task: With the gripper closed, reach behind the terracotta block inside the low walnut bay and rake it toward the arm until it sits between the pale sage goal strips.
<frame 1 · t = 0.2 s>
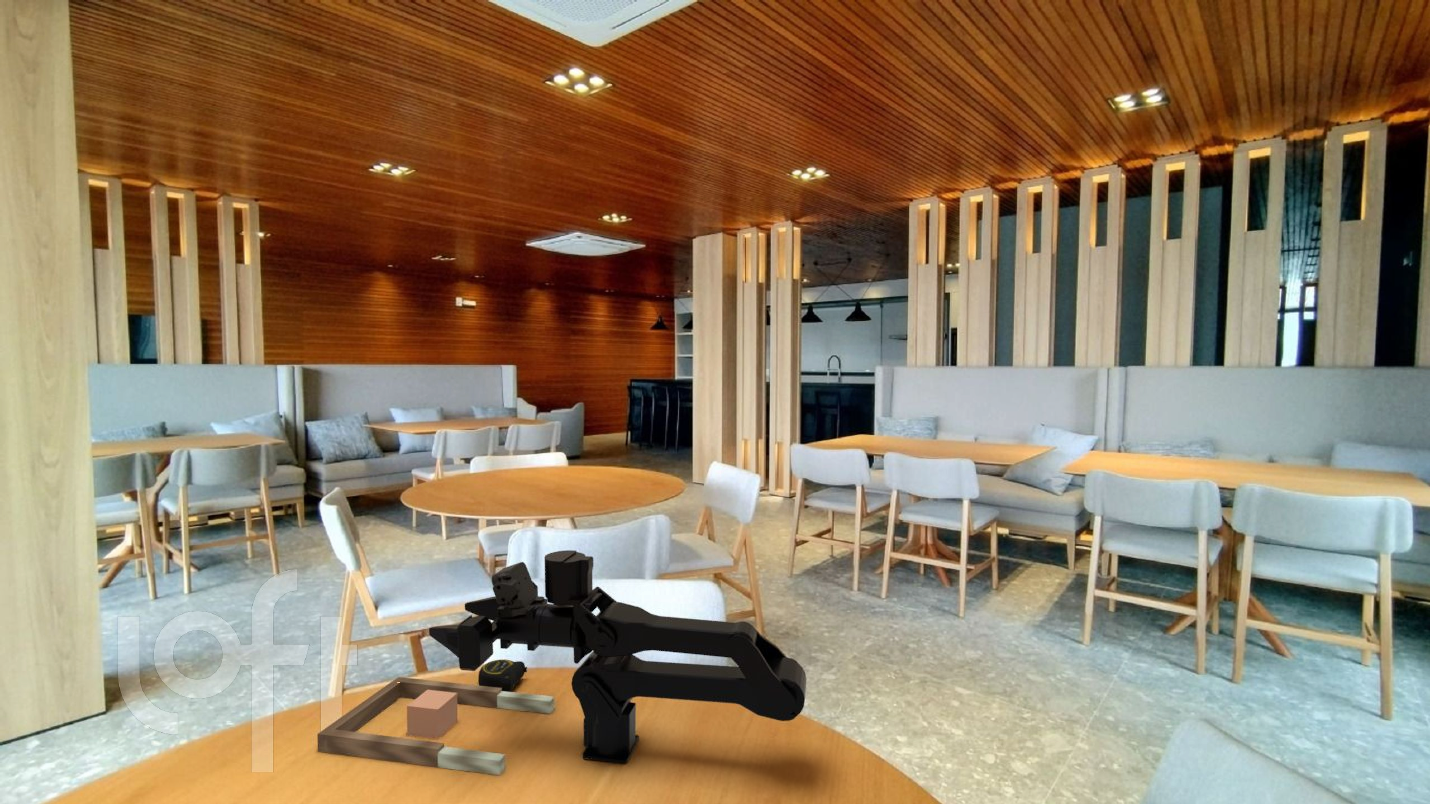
hand: (448, 618, 98), 17 cm above the table, fingers open, 9 cm apart
bay: (420, 726, 99), on the table
tape measure: (504, 688, 112), on the table
block: (432, 728, 99), on the table
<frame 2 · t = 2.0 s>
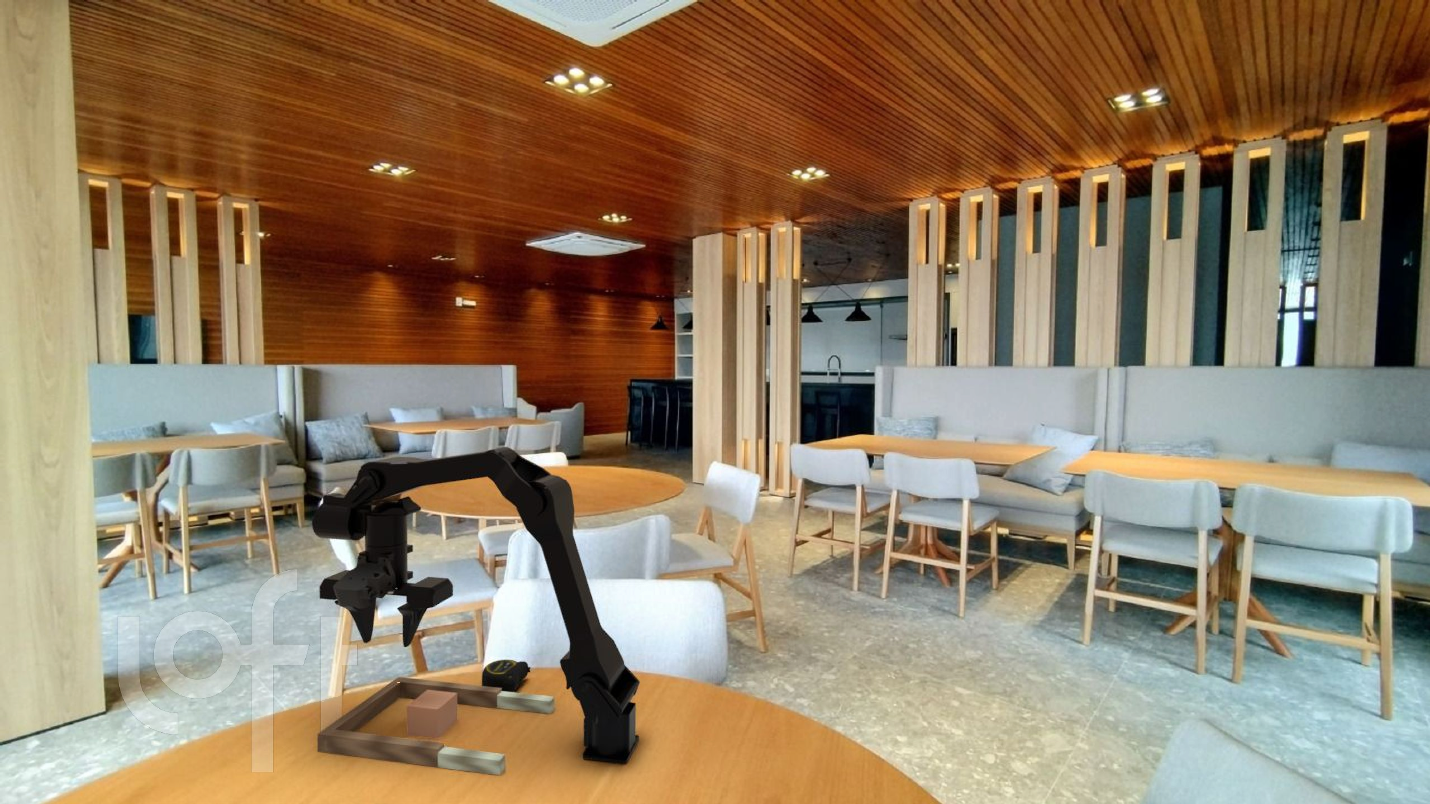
hand: (387, 644, 100), 12 cm above the table, fingers open, 6 cm apart
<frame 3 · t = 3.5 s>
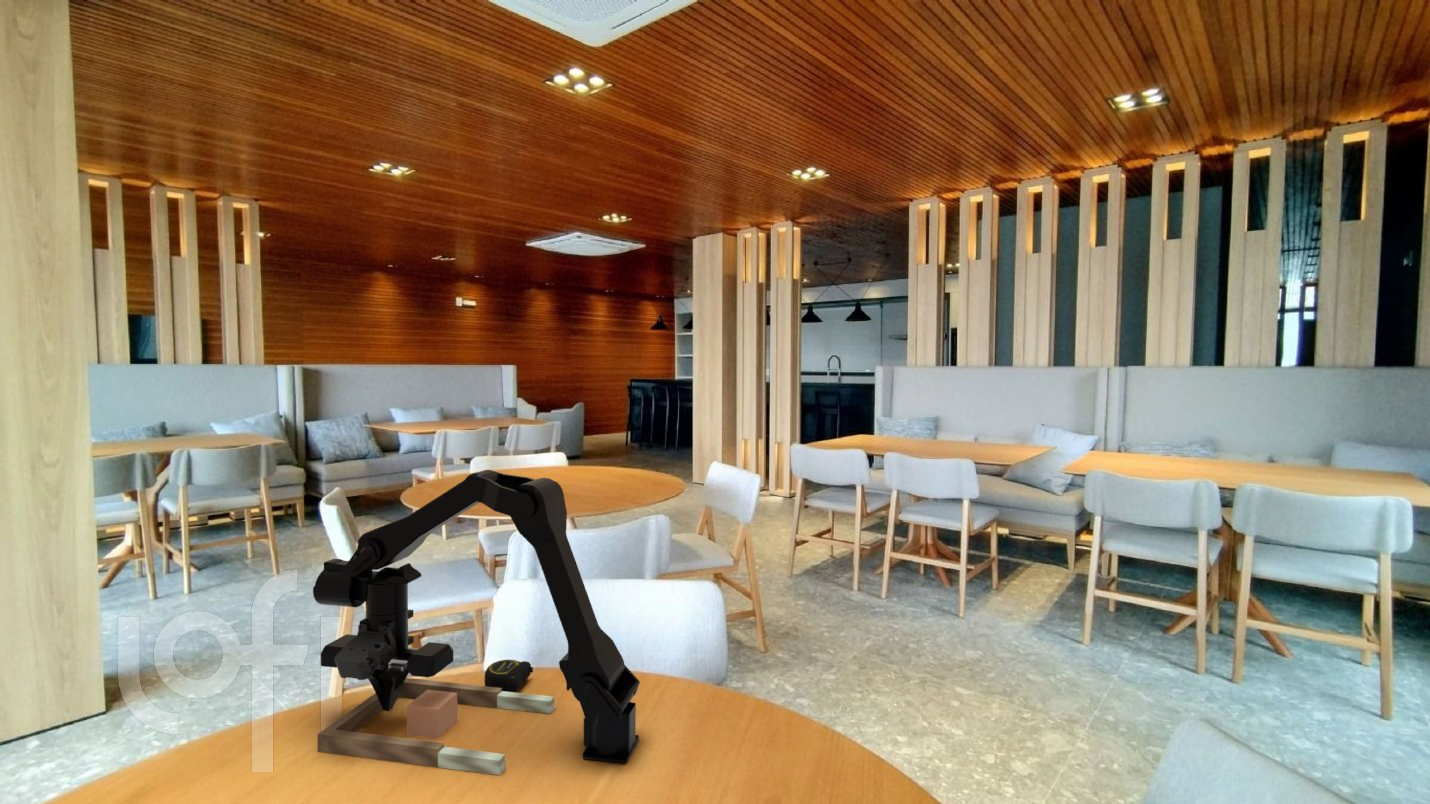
hand: (388, 709, 100), 2 cm above the table, fingers closed
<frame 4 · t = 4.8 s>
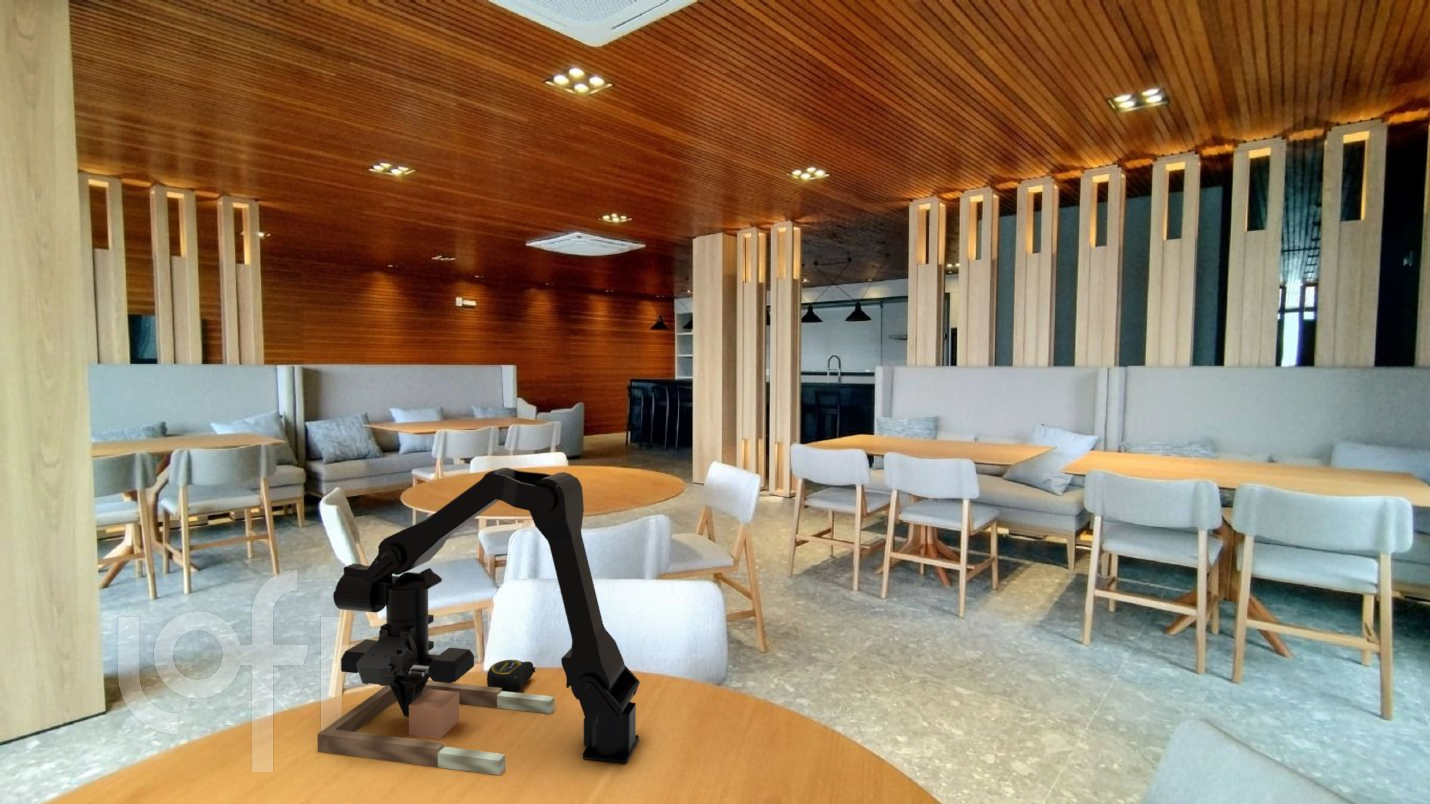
hand: (408, 715, 100), 1 cm above the table, fingers closed
block: (434, 727, 99), on the table, touching gripper
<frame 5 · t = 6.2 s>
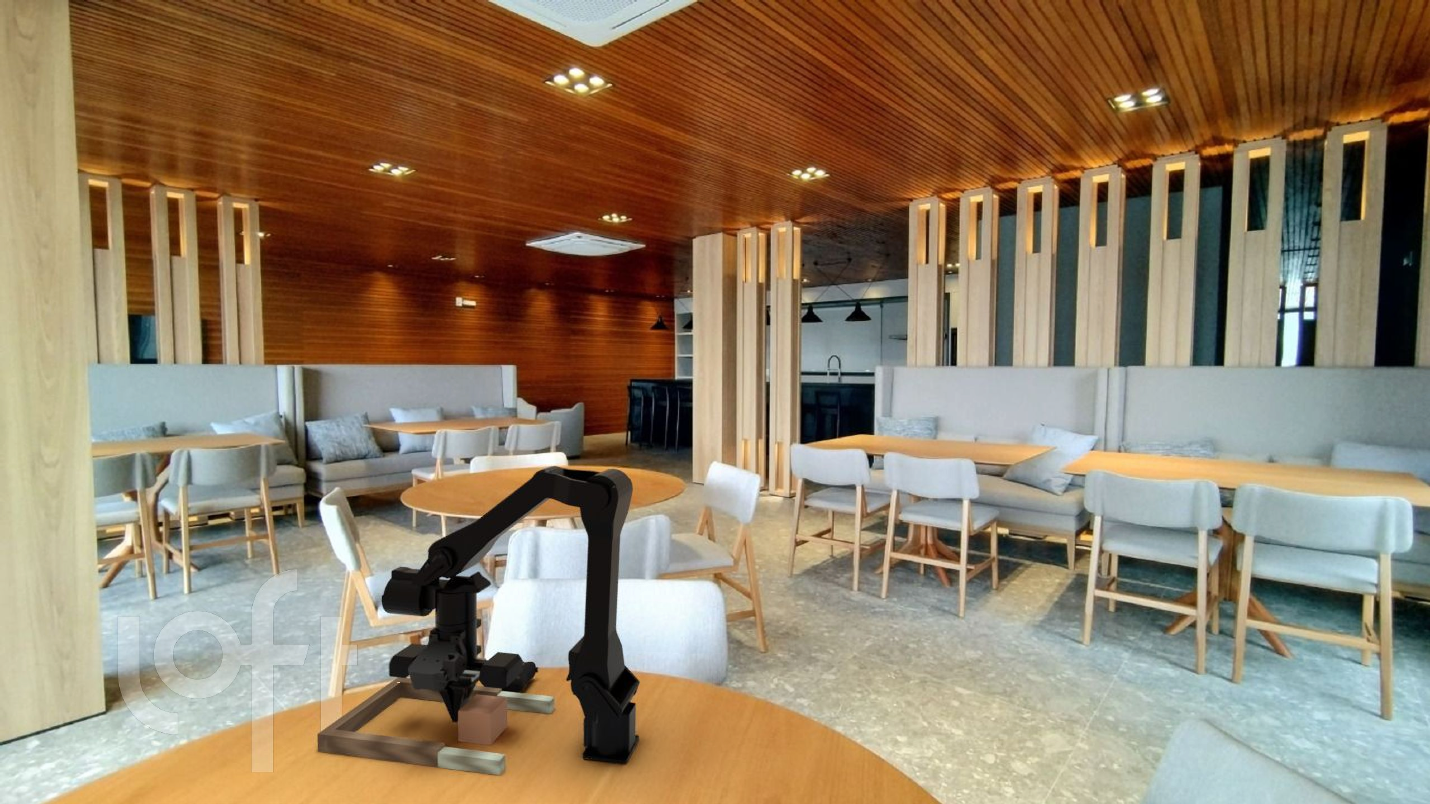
hand: (456, 721, 98), 1 cm above the table, fingers closed
block: (483, 733, 98), on the table, touching gripper
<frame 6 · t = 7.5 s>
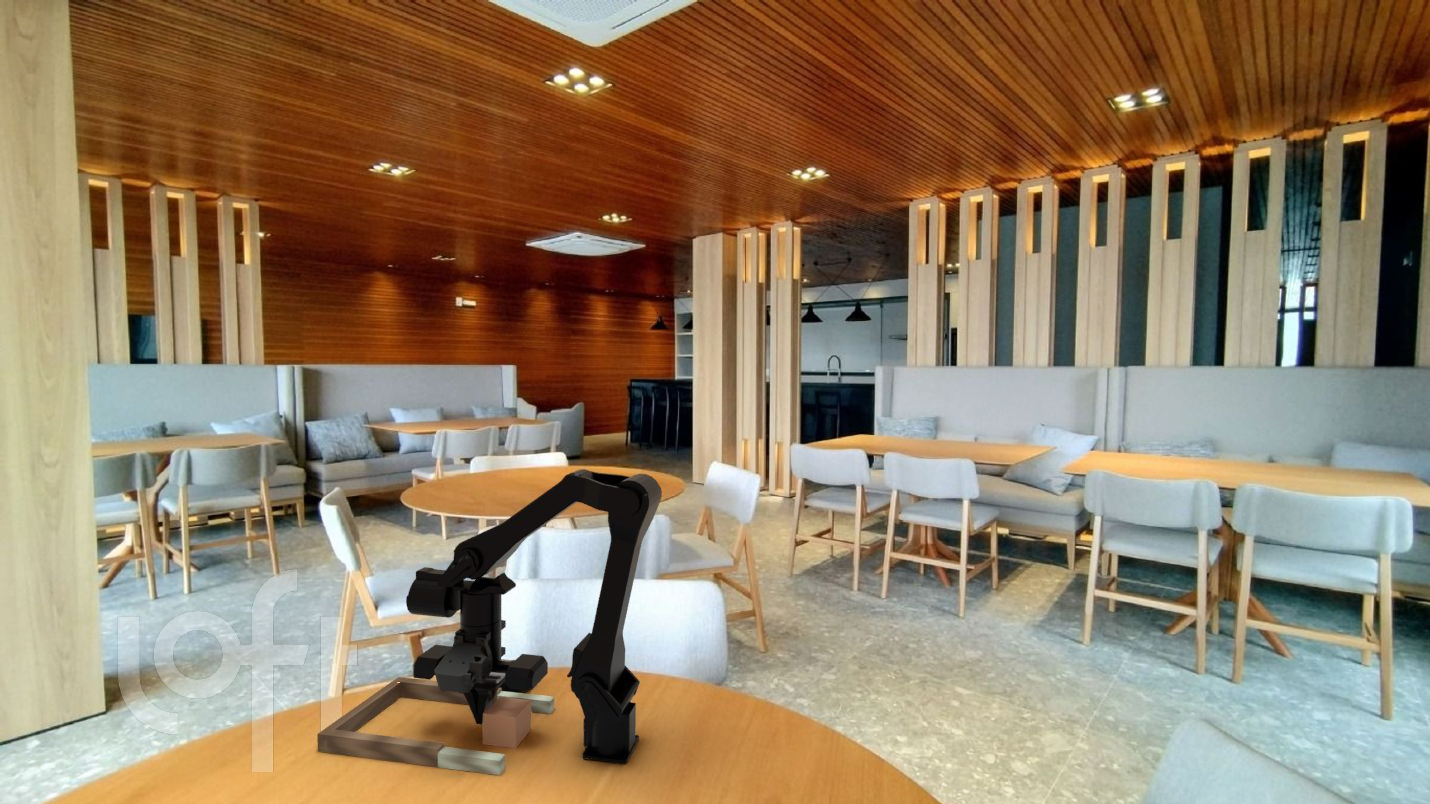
hand: (480, 723, 98), 2 cm above the table, fingers closed
block: (507, 736, 97), on the table, touching gripper
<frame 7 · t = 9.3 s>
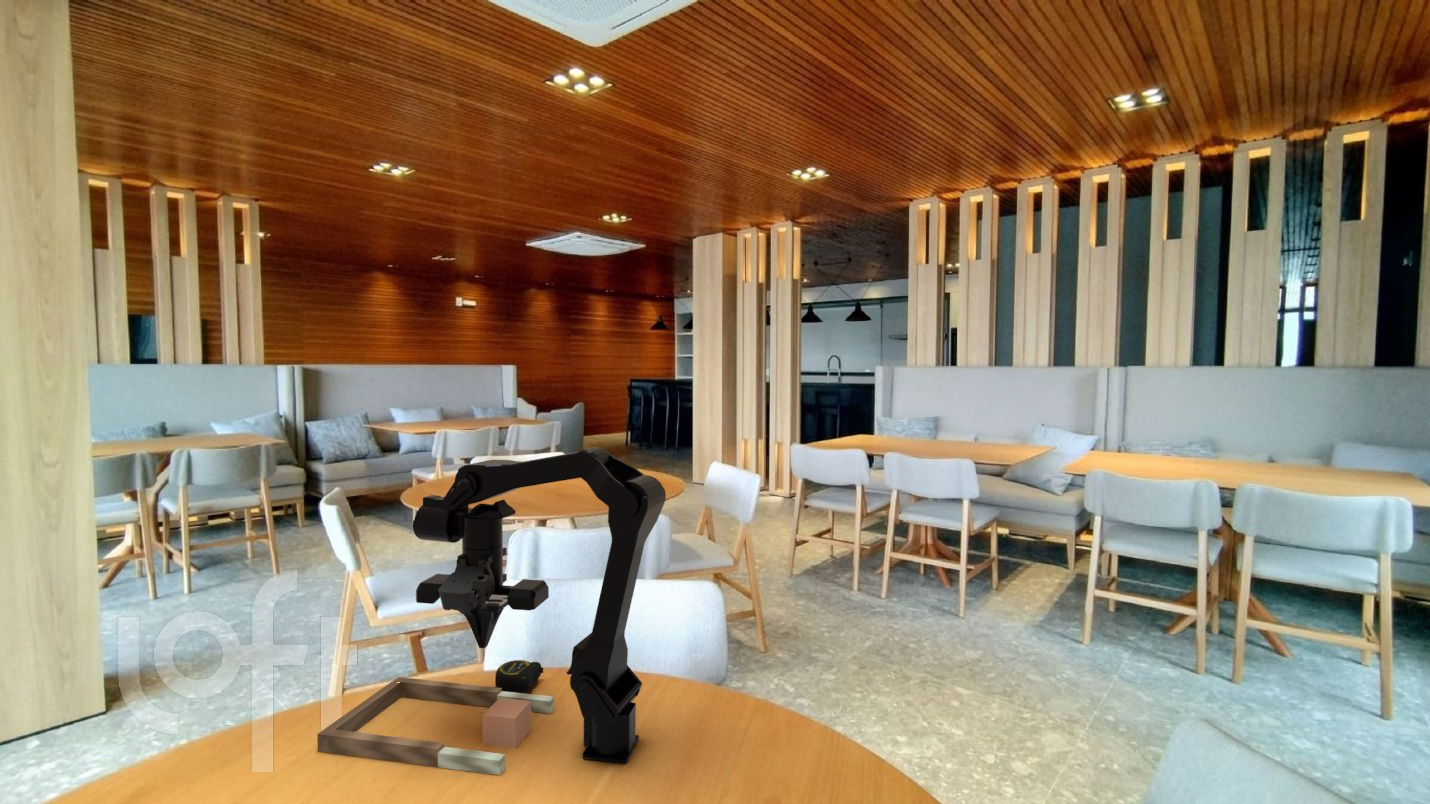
hand: (483, 647, 100), 12 cm above the table, fingers closed
block: (507, 737, 97), on the table
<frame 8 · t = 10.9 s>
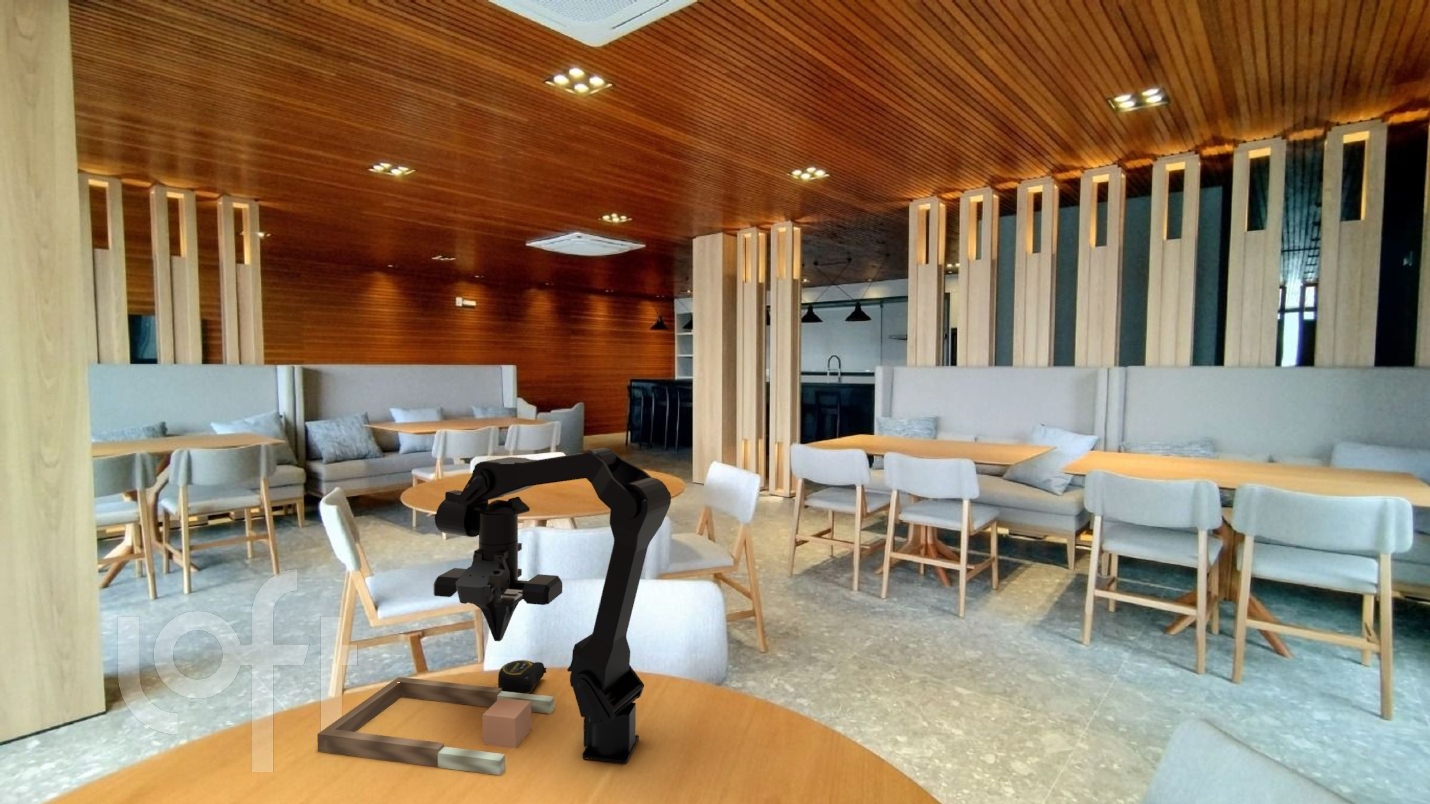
hand: (498, 640, 102), 12 cm above the table, fingers closed
at the end: block inside the target area (0.3 cm from its centre), on the table; block tilted 0°; block moved 12.1 cm from its start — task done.
